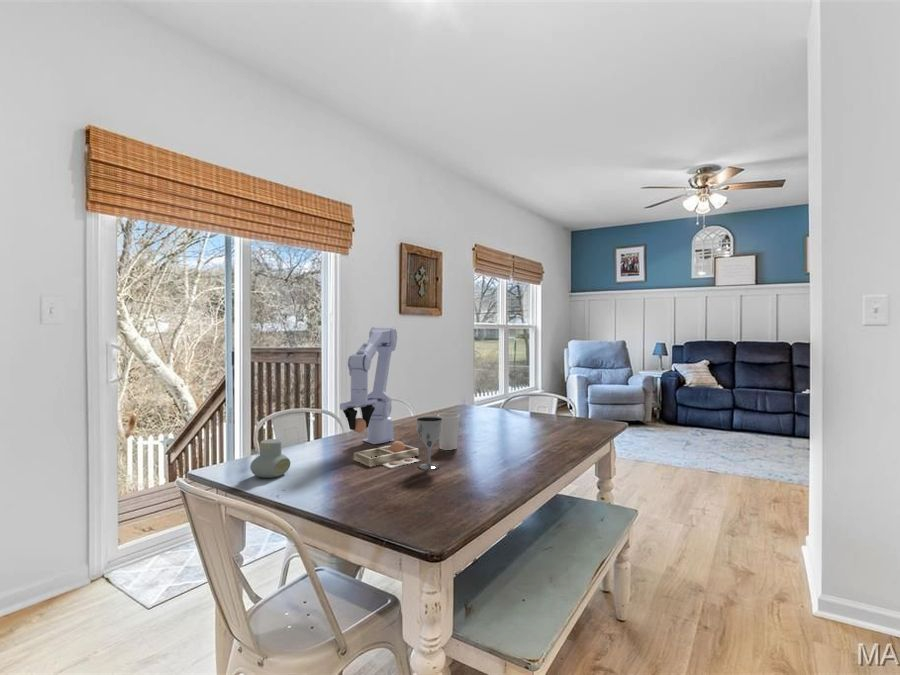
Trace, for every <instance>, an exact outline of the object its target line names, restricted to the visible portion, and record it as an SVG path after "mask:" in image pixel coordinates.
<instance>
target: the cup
mask: <svg viewBox="0 0 900 675" xmlns="http://www.w3.org/2000/svg"><path fill="white" fill-rule="evenodd" d="M436 417H440V418H442V431H441V435H440V437H439V439H438V442H439V448H440V449H444V450H452V449H456V448H457V449H458V439H459V427H460V426H459V425H460V417H461V416H460V414H457V413H451V412H450V413H447V412H446V413H438V414H437V415H436ZM440 449H439V450H440Z"/></svg>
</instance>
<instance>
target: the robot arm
mask: <svg viewBox="0 0 900 675" xmlns="http://www.w3.org/2000/svg"><path fill="white" fill-rule="evenodd" d="M368 338H369V339H368V341H367V342H363V344H362V345H361V346H360V347H359V349H358V350H357V351H356V353H353V354H351V355H349V357H348V360H347V369H348V374H349V376H350V401H346V402H343V403H339V410H341V411H342V412H343V414H344V415H345V417H346V420H347V423H348V427H349V430H351V431H354V430H355V423H356V418H357V415H358V410H355V409H358V408H360V412H361V416H362V417H361V418H362V419H364V420H365V422H366V428H365V429H367V438H364V439H362V442H366V443H368V444H372V445H377V444H378V445H379V444H383V443H388V442H389V441H390V442H395V439H394V421H393V418H392V417H390V416H391V414H392V398H391V397H390V396H389V395H388V394H387V393H386V392H387V384H388V377H389V370H390V364H391V363H390V362H391V357H392V353H393V352H394V351H396V349H397V348H396V347H397V343H398V342H397V341H398V332H397V329H396V328H395V327H375V326H373V327H371V328H369V333H368ZM376 353H378V356H377V362H376V368H375V372H374V373H375V374H374V382H373V387H372V391H371V392H370V393H368V391H369V388H368V385H369V384H368V382H369V381H368V380H369V379H368V378H369V376H368V374H369V370H370V369H371V365H372V359H373V358H374V356H375V355H376ZM390 442H389V443H390Z"/></svg>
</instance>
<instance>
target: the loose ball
mask: <svg viewBox="0 0 900 675" xmlns="http://www.w3.org/2000/svg"><path fill="white" fill-rule="evenodd" d="M366 429H367V428H366V422H365V420H364V419H362V417H358V418H357V417H356V423H355V430H353V432H355V433H357V434H358V433H360V434H361V433H363V432H365V430H366Z"/></svg>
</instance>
